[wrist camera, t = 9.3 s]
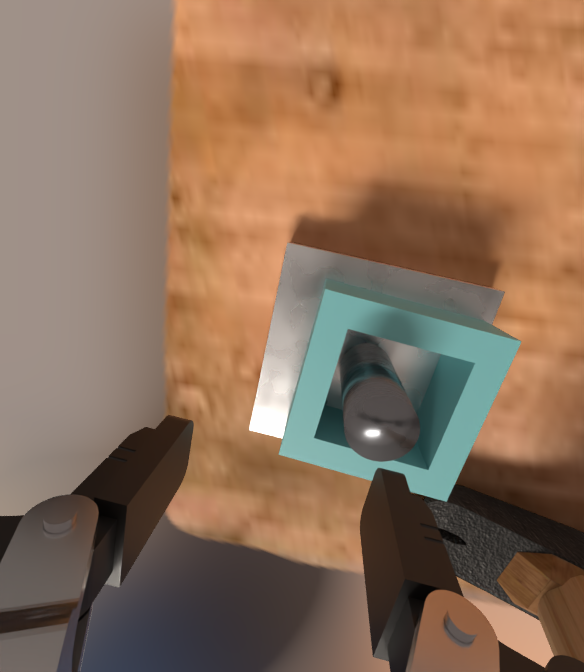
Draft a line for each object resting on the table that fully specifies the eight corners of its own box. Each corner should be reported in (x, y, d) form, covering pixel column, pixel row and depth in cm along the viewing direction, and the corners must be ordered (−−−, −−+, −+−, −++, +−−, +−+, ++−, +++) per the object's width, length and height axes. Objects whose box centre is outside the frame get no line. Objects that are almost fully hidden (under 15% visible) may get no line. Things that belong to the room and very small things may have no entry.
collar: (484, 320, 20) (521, 341, 16) (426, 455, 22) (446, 501, 18) (326, 278, 20) (325, 288, 16) (287, 416, 22) (278, 454, 19)
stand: (492, 287, 21) (599, 322, 12) (426, 460, 24) (475, 577, 16) (290, 241, 21) (265, 246, 13) (254, 418, 24) (216, 510, 16)
